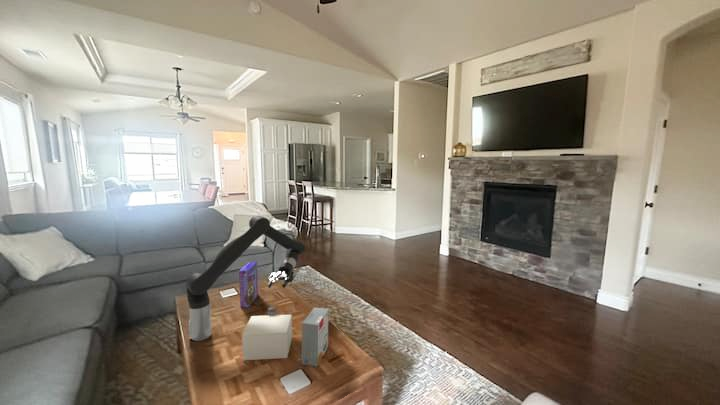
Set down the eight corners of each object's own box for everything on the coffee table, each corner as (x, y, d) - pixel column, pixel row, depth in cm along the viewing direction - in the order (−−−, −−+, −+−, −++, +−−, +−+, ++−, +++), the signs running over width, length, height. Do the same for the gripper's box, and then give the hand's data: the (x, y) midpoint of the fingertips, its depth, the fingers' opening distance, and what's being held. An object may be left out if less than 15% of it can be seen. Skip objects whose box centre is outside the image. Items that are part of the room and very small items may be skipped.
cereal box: (248, 307, 180) (246, 270, 177) (240, 307, 180) (238, 270, 177) (258, 295, 197) (256, 261, 194) (251, 294, 197) (249, 261, 194)
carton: (242, 360, 132) (241, 335, 130) (252, 339, 147) (251, 317, 146) (287, 357, 134) (286, 333, 132) (292, 337, 149) (291, 315, 148)
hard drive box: (317, 367, 128) (317, 325, 125) (301, 365, 129) (301, 323, 126) (328, 346, 143) (328, 308, 140) (313, 344, 144) (313, 306, 142)
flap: (241, 335, 130) (241, 328, 130) (253, 313, 149) (252, 307, 148) (286, 333, 132) (286, 326, 132) (292, 312, 151) (292, 306, 150)
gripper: (274, 262, 169) (261, 281, 155) (296, 261, 166) (285, 281, 152) (278, 271, 173) (266, 291, 159) (300, 271, 169) (289, 291, 155)
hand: (275, 286), depth 155 cm, fingers open, 8 cm apart
